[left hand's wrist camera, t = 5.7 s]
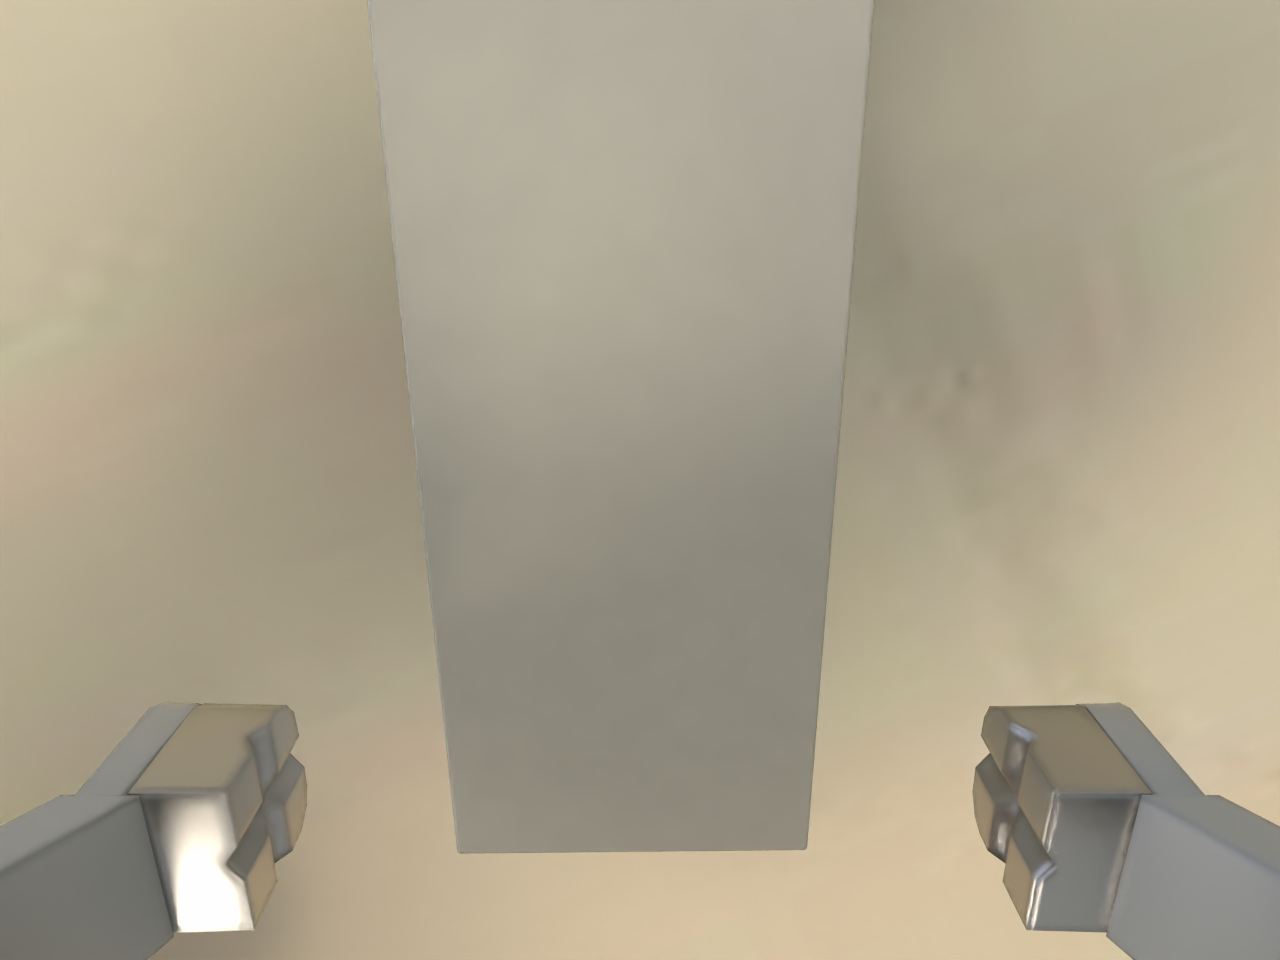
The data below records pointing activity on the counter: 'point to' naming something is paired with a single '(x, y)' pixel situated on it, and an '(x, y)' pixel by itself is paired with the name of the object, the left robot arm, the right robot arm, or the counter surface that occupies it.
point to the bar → (625, 399)
